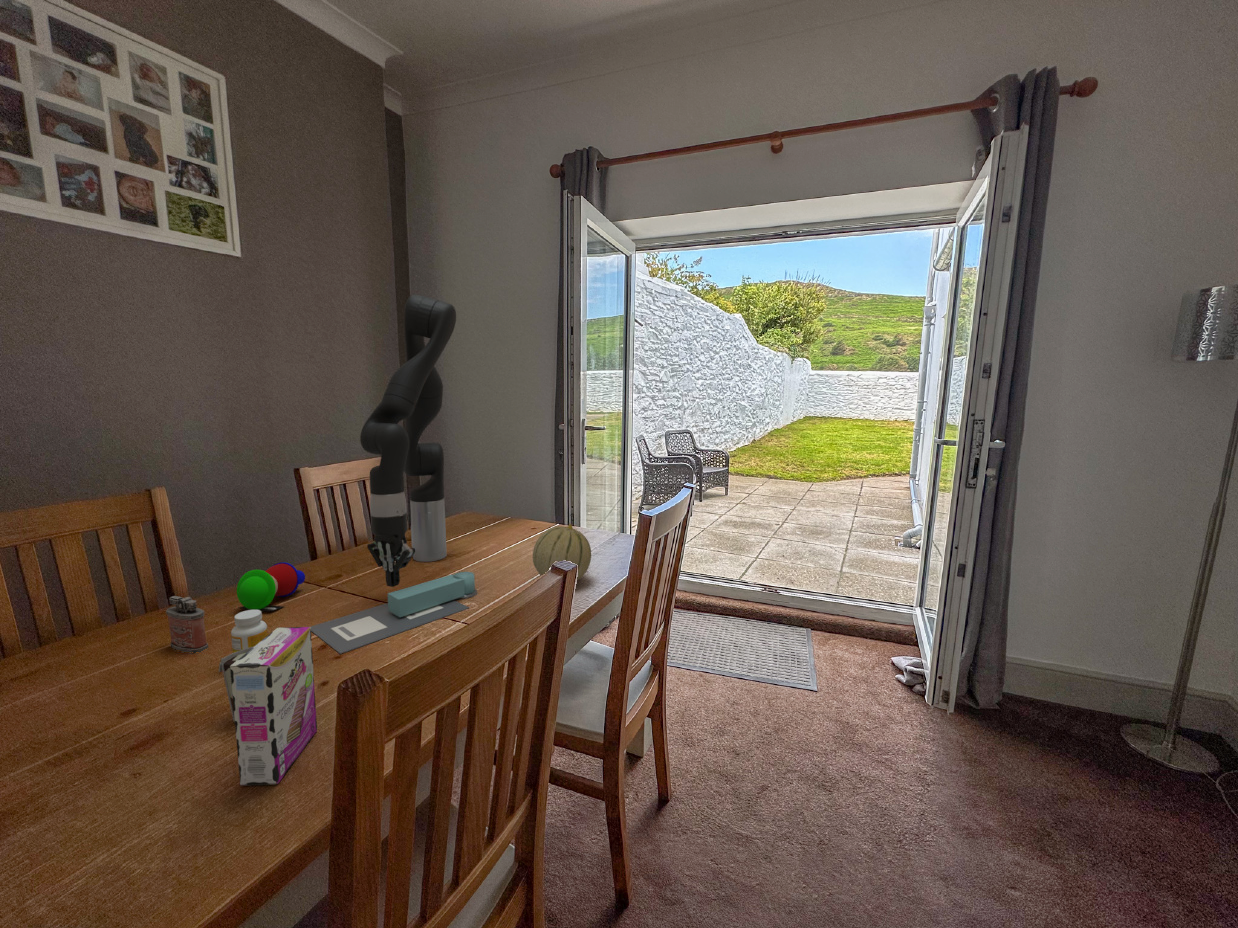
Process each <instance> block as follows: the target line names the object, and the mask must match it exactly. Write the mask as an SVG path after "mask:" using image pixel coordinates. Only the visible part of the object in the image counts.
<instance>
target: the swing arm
mask: <svg viewBox="0 0 1238 928" xmlns="http://www.w3.org/2000/svg"><path fill="white" fill-rule="evenodd" d="M475 579H476V578H475V573H474V572H473V571H458V572H456V573H454V574H449V575H445V576H443V577H439V578H436V579H435V578H434V579H433V580H429V581H425V582H422V583H419V584H416V585H412V586H409V587H405V588H401V589H399V590H395V591H391V592H388V593H387V603H388V611H390V612H391V613H393V614H395V615H396V616H398V617H403V616H406V615H409V614H412V613H415V612H418V611H421V610H424V609H427V608H430V607H433V606H436V605H438V604H441V603H444V602H447V601H450V600H457V599H456V598H459V597H462V596H465V595H468V594H471V593H473V592H474V591H475V589H476V584H475V582H476V581H475Z"/></svg>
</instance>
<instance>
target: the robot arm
mask: <svg viewBox="0 0 1238 928" xmlns="http://www.w3.org/2000/svg"><path fill="white" fill-rule="evenodd" d="M456 321H457V312H456V308H455V306H454V305H453V304H451V303H450V302H449V303H448V302H446V301H443V300H439V299H436V298H431V297H427V296H426V295H425V296H424V295H420V294H412V295H410V296H409V297H408V298H407V300H406V302H405V305H404V311H403V333H404V345H405V363H404V364H402V365H401V366H399V368H398V369H397V370H396V371H394V373H393V374H392V376H391V378H390V379H389V381H388V384H387V386H386V389H385V391H384V394H383V396H382V399H381V401H380V402H379V403H378V405H377V407H376V408H375V409H374V410H373V411H372V413H371V414H370V416H369V417H368V418H367V420H366V421H365V423H364V424H363V426H362V428H361V431H360V435H359V437H360V438H359V439H360V440H359V441H360V445H361V447H362V449H363V450H364V451H365V452H367V453H369V454H372V455H380V461H379V465H375V466H374V467H373V466H372V468H371V469H370V471H369V487H370V488H369V490H370V500H369V509H370V528H371V534H372V535H374V539H373V540H374V541H373V542H371V543H369V544H368V543H367V549H368V551H369V553H370V554H371V556H372V558H373V559H374V561H375V564H376V565H377V566H378V568H381V567H382V568H383V571H385V574H384V575H385V583H386V586H387V587H391V588H394V587H397V586H399V584H400V582H401V580H400V579H401V578H400V570H401V569H403V568H406V567H407V566H408V564H409V562H410V561H411V559H413V560H414V561H415V562H421V563H423V562H425V563H426V562H427V563H428V562H434V561H439V560H442V559H445V558H446V557H447V555H448V554H447V534H446V533H447V532H446V531H447V530H446V508H445V480H444V479H445V474H444V473H445V472H444V471H445V453H444V449H443V446H442V444H441V443H440V442H419V441H420V438H421V436H422V434H423V433H424V432H425V430H426V429H427V428H428V426H429V425H430V424H431V423H432V422H433V421H434V420H435V418H437V416H438V415H439V413H440V411H441V409H442V406H443V395H444V394H443V393H444V392H443V391H444V385H443V384H444V383H443V381H442V378H441V376H440V374H439V372H438V370H437V369H436V367H435V365H436V363H437V362H438V361H439V359H440V358H441V355H442V353H443V351H444V350H445V348H446V347H447V344H448V342H449V341H450V339H451V337H452V335H453V332H454V330H455V327H456ZM425 338H426V339H428V340H429V341H427V343H425ZM425 344H426V345H425ZM403 420H404V421H405V422H404V426H402V425H400V424H398V423H400V422H401V421H403ZM404 474H405V475H406V476H409V477H423V476H424V477H425V476H430V478H428V480H426V481H425V482H423V483H422V484H420V485H417V486H415V487H413V488H412V489H411V490H409V501H410V503H409V506H410V521H411V525H410V535H411V537H410V539H411V548H410V546H409V545H408V544H407V543H408V540H407V537H406V532H407V531H408V510H407V509H408V508H407V498H406V494H405V480H404V477H405V476H404Z"/></svg>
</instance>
